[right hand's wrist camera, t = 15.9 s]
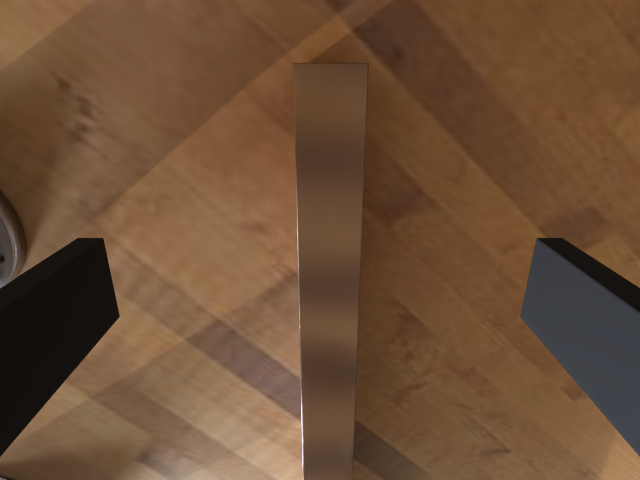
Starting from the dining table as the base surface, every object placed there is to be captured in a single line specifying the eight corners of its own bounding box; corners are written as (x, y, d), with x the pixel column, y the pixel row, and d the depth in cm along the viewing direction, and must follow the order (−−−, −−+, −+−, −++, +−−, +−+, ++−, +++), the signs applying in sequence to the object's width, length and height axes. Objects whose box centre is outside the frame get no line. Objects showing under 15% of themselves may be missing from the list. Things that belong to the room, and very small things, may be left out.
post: (301, 67, 35) (293, 63, 27) (359, 67, 35) (368, 63, 27) (310, 586, 61) (307, 662, 53) (343, 587, 61) (345, 663, 53)
